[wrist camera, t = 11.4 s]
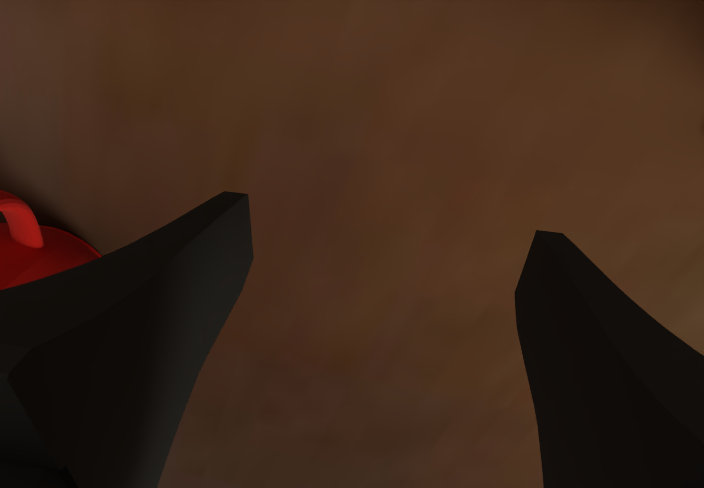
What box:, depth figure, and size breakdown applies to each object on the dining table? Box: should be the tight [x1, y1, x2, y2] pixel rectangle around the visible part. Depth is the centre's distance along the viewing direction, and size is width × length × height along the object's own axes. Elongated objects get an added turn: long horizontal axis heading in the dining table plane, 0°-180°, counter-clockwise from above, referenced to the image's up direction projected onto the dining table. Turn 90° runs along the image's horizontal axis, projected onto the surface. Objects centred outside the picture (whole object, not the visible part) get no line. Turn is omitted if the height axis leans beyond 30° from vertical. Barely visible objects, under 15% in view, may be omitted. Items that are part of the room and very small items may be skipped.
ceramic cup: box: [0, 190, 102, 290], centre depth 23 cm, size 13×17×10 cm
